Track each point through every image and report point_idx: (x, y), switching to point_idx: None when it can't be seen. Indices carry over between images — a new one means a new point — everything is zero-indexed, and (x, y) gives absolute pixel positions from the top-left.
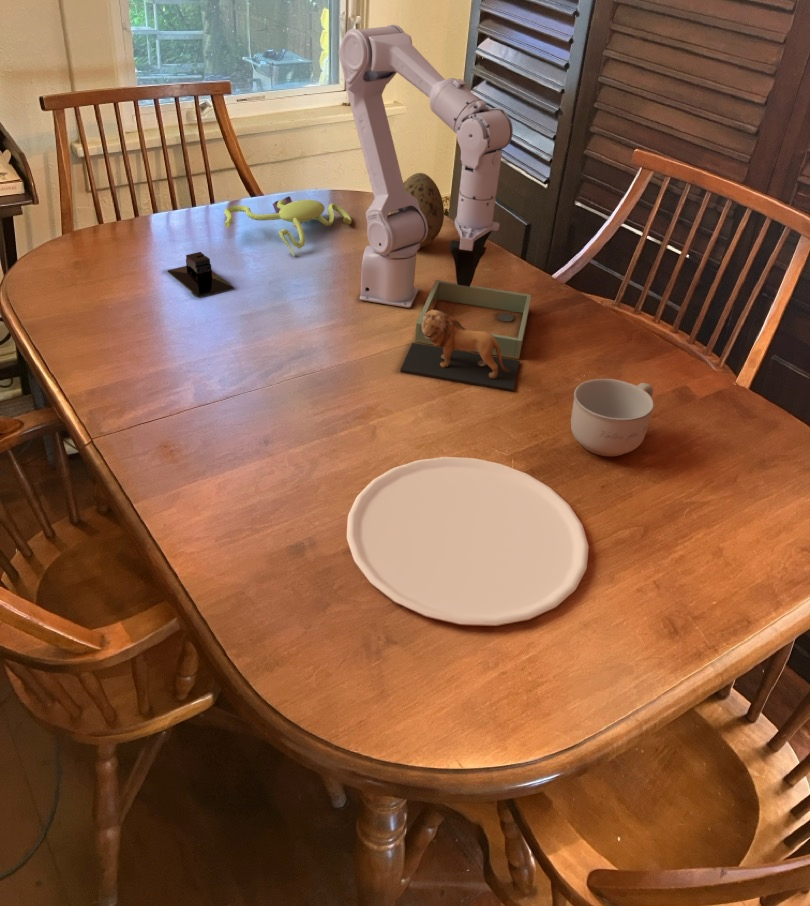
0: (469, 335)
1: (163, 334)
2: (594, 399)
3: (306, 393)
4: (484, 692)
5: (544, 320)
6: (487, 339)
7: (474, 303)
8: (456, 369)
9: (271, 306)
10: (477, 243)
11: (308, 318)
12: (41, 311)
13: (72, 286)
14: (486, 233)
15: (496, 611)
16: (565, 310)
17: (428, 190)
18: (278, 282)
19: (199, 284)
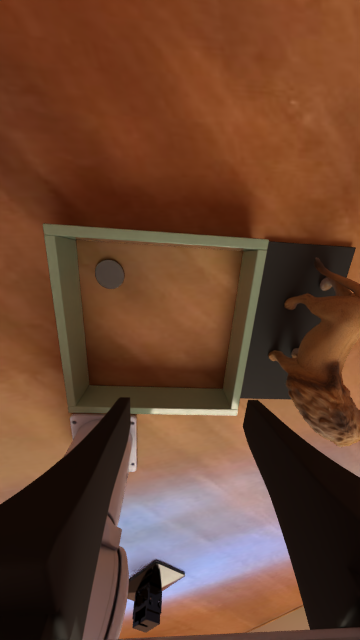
0: (350, 349)
1: (257, 570)
2: None
3: (351, 465)
4: None
5: (87, 194)
6: None
7: (82, 332)
8: (303, 336)
9: (182, 528)
10: (102, 479)
11: (198, 497)
12: (237, 626)
13: (193, 628)
14: (73, 525)
15: None
16: (17, 140)
17: None
18: (124, 537)
19: (165, 584)
